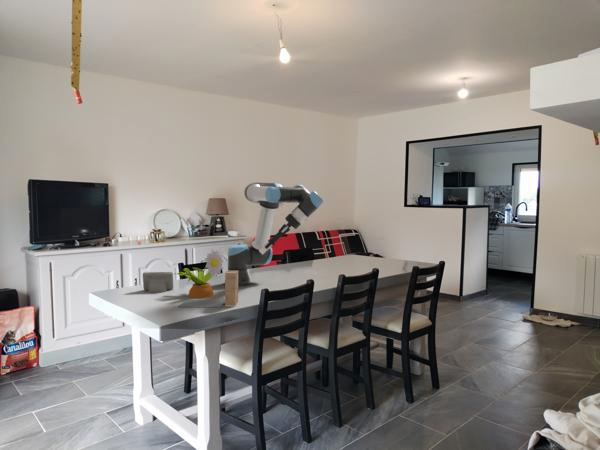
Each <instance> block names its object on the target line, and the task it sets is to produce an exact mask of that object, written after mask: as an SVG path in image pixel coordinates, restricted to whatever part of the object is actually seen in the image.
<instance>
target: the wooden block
mask: <svg viewBox="0 0 600 450" xmlns="http://www.w3.org/2000/svg"><path fill="white" fill-rule="evenodd" d="M224 274H225V276H224V287H225V288H224V291H225V293H224V301H225V303H224V306H225V307H237V305H238V303H239V286H238V271H228V270H227V271H226V272H224Z"/></svg>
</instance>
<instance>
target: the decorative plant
mask: <svg viewBox="0 0 600 450" xmlns="http://www.w3.org/2000/svg"><path fill="white" fill-rule="evenodd" d="M206 255H207V256H206V257H205V258H204V260H205V262H206V265H205V267H204V269H201V268H199V267H196V266H195V267H194V266H193V267H192V269H193V270H195V271H198V276H197V275H196V274H195V273H193V272H192V271H191V270H190V269H189V268H188V267H187V268H185V267H184V268H183V269H182V271H180V272H177V273H175V272H173V275H178V276H186V277H187V278H188V280H187V281H188V282H190V281H192V282H193V284H192V286H191V287H190V289H189V291H188V297H189V298H194V299H206V298H212V297H214V296H215V294H214V290H213V288H212V286H211V284H210V283H209V282H208V281H209V280H211V278H213V277H214V276H215V277H217V276H218V275H219V274H221V271H222V270H223V269H224V267H223V263H224V260H223V258H222V257H223V254H219V252H218V250H214V249H212V250H211V252H209V253H207V254H206ZM207 269H208V270H207ZM206 270H207V273H205V271H206Z"/></svg>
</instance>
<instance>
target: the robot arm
mask: <svg viewBox="0 0 600 450" xmlns="http://www.w3.org/2000/svg"><path fill="white" fill-rule="evenodd" d="M243 192H244V197H245V199H246V200H247V201H249V202H251V203H256V204H258V205H259V206H260V211H259V216H258V221H257V227H256V231H255V236H254V237H255V238H254V241H252V242H251V245H250V246H249V245H248V244H246V243H244V244H243V243H242V244H234V245H231V246H229V247H228V249H227V271H238V287H239V286H240V287H241V286H248V285H250V284H251V278H250V276H249V272H248V267H251V266H263V265H264V266H265V265H269V264H270V263H271V261H272V259H273V248H272V247H273V246H275V243H276V242H277V241H278V240H279V239H280V238H281V237H282V236H285V235H287V233H288V232H290V230H291V227H292V228H293V229H295V230H297V229H298V228H299V227H300V226H301V225H302V224H303V223H304V222H307V221H308V218H309V217H310V216H311V215H313V213H314V212H316V210H317V209H319V208H320V207H321V205H323V203H324V199H323V197H321V196H320V195H319V194H318V193H317V192H316V191H315V190H312V191H311V192H310V191H309V189H307V188H306V187H305V186H304V185H302V184H295V185H294V186H293V187H292V186H287V187H286V186H283V185H282V184H281V183H279V182H276V183H275V182H252V183H249V184H248V185H247V186H246V187H245V188H244V191H243ZM283 203H287V204H289V203H291V204H293V203H294V204H295V203H296V204H297V206H296V207H294V209H293V210H291V213H289V214H287V216H285V217H284V218H285V221H286V222H287V223H284V224H283V225H282V226H281V227H280V228H279V229H278V231H277V233H275V235H274V236H272V237H271V234H272V229H273V223H274V218H275V214H276V210H277V209H279V207H280V204H281V205H282V204H283Z"/></svg>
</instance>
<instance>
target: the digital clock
mask: <svg viewBox="0 0 600 450" xmlns="http://www.w3.org/2000/svg"><path fill="white" fill-rule="evenodd" d="M142 285H143V288H142V289H143V290H144V291H148V293H166V292H167V291H170V290H174V272H172V271H148V272H147V271H145V272H142Z"/></svg>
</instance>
